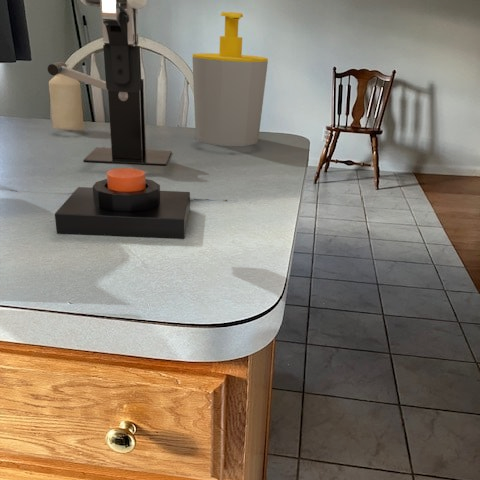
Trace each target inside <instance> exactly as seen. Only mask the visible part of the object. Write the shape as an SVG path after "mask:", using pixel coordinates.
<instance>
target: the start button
mask: <svg viewBox="0 0 480 480" xmlns="http://www.w3.org/2000/svg"><path fill="white" fill-rule="evenodd" d="M106 179H107V184H108V189H110V190H114V191H125V192H131V191H140V190H143V189H146V181H145V179H146V172H145V171H143V170H141V169H139V168H131V167H130V168H128V167H125V168H124V167H120V168H113V169H110V170H108V171H106Z"/></svg>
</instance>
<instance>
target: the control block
mask: <svg viewBox="0 0 480 480" xmlns="http://www.w3.org/2000/svg"><path fill="white" fill-rule="evenodd" d="M145 181H146V189H143V190H140V191H131V192H125V191H114V190H110V189H108V184H107V178H104V179H101V180H98V181H95V182H94V184H93V185H92V187H88V186H87V187H85V186H78V187H76V189H75V190H74V191H73V193H72V194H71V195H70V196H69V197H68V198H67V199H66V200H65V201H64V203H62V205H61V206H60V207H59V208H58V209H57V210H56V211H55V213H54V220H55V229H56V234H57V235H71V236H73V235H74V236H95V237H96V236H97V237H101V236H102V237H121V238H122V237H123V238H144V239H145V238H146V239H169V240H170V239H172V240H185V238H186V237H185V236H186V231H187V227H188V222H189V216H190V212H191V192H190V191H177V190H176V191H175V190H161V185H160V184H159V183H158V182H156V181H155V180H152V179H148V178H145Z"/></svg>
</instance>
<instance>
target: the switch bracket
mask: <svg viewBox="0 0 480 480" xmlns="http://www.w3.org/2000/svg"><path fill="white" fill-rule="evenodd" d="M141 85H142V87H141V90H140V91H138V92H136V93H134V92H111V91H107V97H108V112H109V114H108V115H109V130H110V146H111V147H95V148H94V149H93V150H92V151H91V152H90V153H89V154H87V156H86V157H84V159H83V161H82V162H83V163H89V164H90V163H93V164H113V165H132V166H135V165H136V166H153V167H156V166H157V167H166V166H167V165H168V162H169V161H170V158H171V155H172V150H160V149H159V150H158V149H147V139H146V138H147V137H146V107H145V106H146V105H145V79H144V78H141Z"/></svg>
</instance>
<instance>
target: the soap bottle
mask: <svg viewBox="0 0 480 480" xmlns="http://www.w3.org/2000/svg"><path fill="white" fill-rule="evenodd" d="M220 17H224V35H220V36H219V49H218V50H219V51H218V53H213V52H212V53H211V52H206V53H205V52H199V53H193V54H192V59H191V60H192V76H193V77H192V80H193V81H192V82H193V83H192V85H193V104H194V105H193V106H194V107H193V109H194V130H195V131H194V132H195V140H197V141H198V142H201V143H204V144H208V145H213V146H214V145H215V146H222V147H223V146H224V147H225V146H226V147H245V146H252V145H256V144H258V143H259V140H260V139H259V137H260V129H261V121H262V114H263V105H264V96H265V89H266V80H267V71H268V64H269V59H268V57H265V56H257V55H248V54H242V53H243V52H242V51H243V37H241V36H239V20H240V19H241V18H243V17H244V14H243V13H242V12H232V11H222V12H221V13H220Z"/></svg>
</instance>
